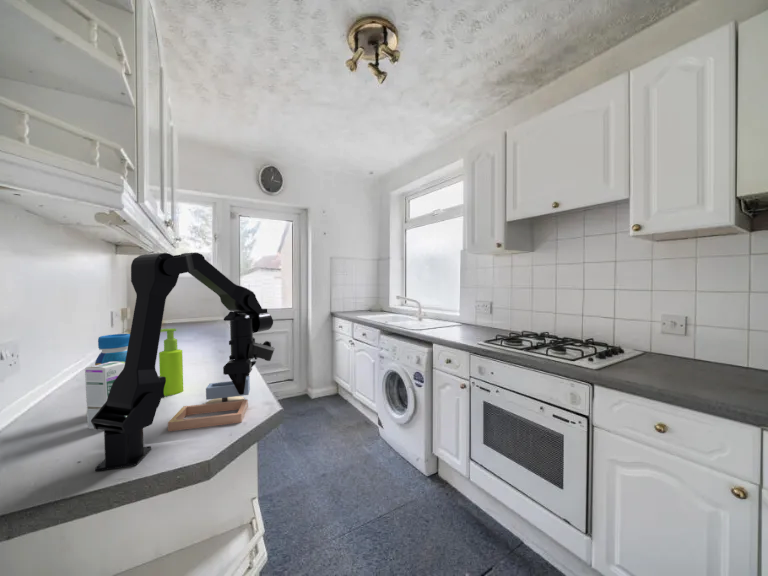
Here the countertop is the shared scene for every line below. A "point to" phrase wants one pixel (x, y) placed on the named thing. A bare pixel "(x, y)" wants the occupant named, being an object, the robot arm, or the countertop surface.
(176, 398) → the countertop surface
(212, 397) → the blue open frame block
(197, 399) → the countertop surface
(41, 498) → the countertop surface
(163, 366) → the soap dispenser
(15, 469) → the countertop surface
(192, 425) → the tray
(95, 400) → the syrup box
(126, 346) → the blue lidded jar
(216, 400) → the pot lid
